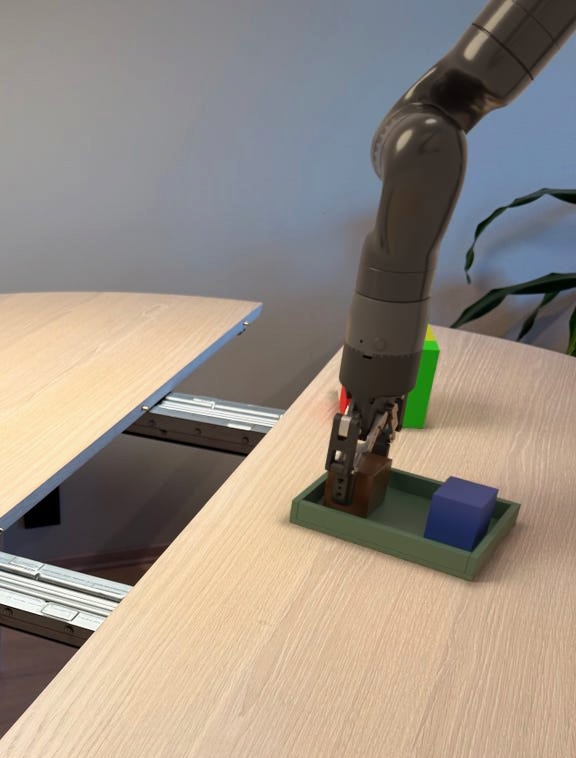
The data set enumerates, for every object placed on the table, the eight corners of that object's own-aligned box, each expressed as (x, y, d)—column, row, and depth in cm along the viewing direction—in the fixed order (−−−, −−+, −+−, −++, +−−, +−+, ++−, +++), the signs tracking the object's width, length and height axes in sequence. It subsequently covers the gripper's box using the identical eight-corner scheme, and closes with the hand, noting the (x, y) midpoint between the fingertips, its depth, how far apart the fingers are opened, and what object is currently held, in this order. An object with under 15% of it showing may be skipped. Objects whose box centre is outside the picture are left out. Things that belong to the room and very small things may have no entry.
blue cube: (487, 532, 101) (499, 488, 98) (471, 552, 98) (483, 508, 95) (440, 518, 104) (450, 475, 101) (422, 537, 100) (432, 493, 97)
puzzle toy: (337, 393, 133) (349, 319, 127) (413, 397, 132) (428, 323, 126) (342, 423, 125) (355, 346, 119) (423, 428, 124) (439, 350, 118)
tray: (515, 525, 104) (521, 503, 102) (471, 581, 95) (477, 558, 93) (343, 475, 113) (346, 454, 111) (288, 521, 104) (291, 499, 102)
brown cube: (384, 501, 107) (393, 459, 104) (365, 519, 103) (373, 476, 100) (341, 488, 109) (349, 446, 106) (322, 505, 106) (328, 463, 103)
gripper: (377, 312, 102) (352, 456, 111) (316, 351, 92) (295, 504, 102) (447, 327, 98) (416, 473, 108) (392, 368, 89) (363, 525, 98)
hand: (357, 488), depth 105 cm, fingers open, 8 cm apart
